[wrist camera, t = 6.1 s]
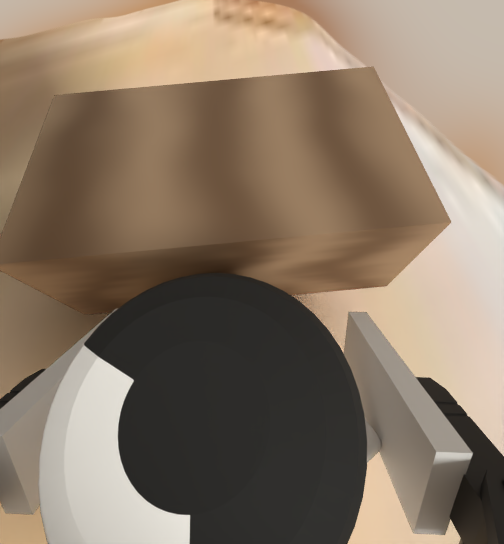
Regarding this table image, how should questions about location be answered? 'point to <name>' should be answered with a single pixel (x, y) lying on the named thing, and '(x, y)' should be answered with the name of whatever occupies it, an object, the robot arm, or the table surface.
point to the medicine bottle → (206, 424)
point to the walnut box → (220, 189)
